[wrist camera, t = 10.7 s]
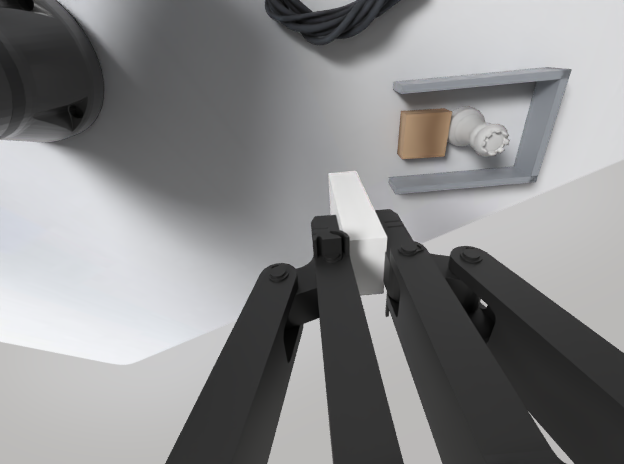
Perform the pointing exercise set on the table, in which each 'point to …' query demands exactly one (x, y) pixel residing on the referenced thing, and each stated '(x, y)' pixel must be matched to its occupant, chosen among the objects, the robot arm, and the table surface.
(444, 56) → the table surface
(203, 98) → the table surface
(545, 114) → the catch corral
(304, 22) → the cable
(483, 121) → the rook chess piece
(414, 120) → the walnut tile
